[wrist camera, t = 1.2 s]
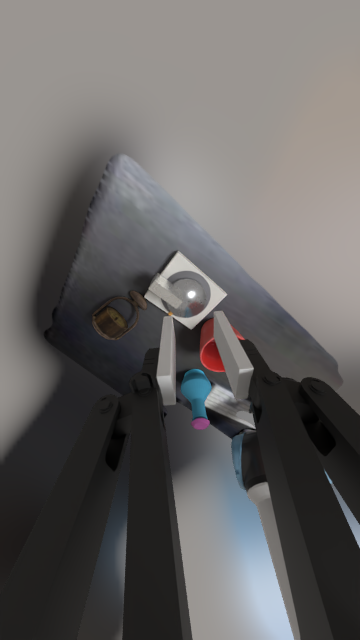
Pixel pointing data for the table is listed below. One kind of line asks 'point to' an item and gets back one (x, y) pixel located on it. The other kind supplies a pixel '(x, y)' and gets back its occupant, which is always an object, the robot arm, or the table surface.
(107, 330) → the brown piece
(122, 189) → the table surface
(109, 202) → the table surface
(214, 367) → the flower pot
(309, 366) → the table surface
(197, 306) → the dial
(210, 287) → the dial housing
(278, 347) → the table surface
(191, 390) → the perfume bottle
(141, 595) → the robot arm
